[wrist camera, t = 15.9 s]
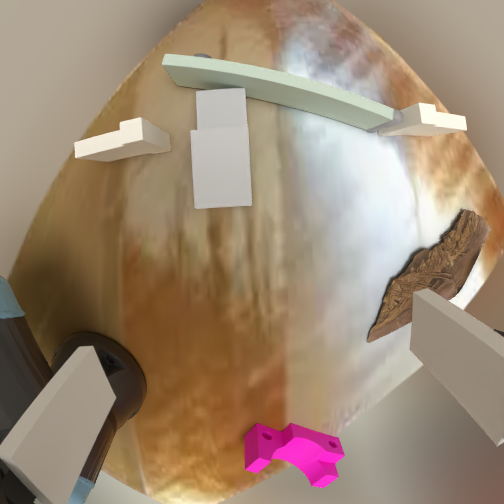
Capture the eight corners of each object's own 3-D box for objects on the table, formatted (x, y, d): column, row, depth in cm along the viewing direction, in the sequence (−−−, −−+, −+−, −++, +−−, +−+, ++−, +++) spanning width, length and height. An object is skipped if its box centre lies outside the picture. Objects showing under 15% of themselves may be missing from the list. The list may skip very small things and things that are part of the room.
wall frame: (108, 163, 32) (64, 159, 22) (107, 147, 32) (63, 138, 22) (430, 138, 32) (478, 130, 22) (428, 123, 32) (475, 112, 22)
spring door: (176, 86, 30) (161, 65, 23) (182, 67, 29) (169, 42, 23) (374, 134, 32) (402, 125, 25) (378, 114, 31) (405, 102, 24)
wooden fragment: (478, 193, 33) (482, 195, 32) (494, 251, 36) (499, 253, 35) (345, 307, 36) (348, 311, 35) (378, 356, 39) (381, 360, 38)
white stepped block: (206, 203, 34) (194, 209, 26) (201, 101, 31) (189, 79, 23) (250, 200, 34) (252, 205, 26) (245, 98, 31) (245, 74, 23)
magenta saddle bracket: (338, 437, 43) (349, 468, 36) (316, 457, 44) (323, 487, 37) (265, 412, 41) (269, 448, 34) (244, 435, 42) (244, 469, 35)
